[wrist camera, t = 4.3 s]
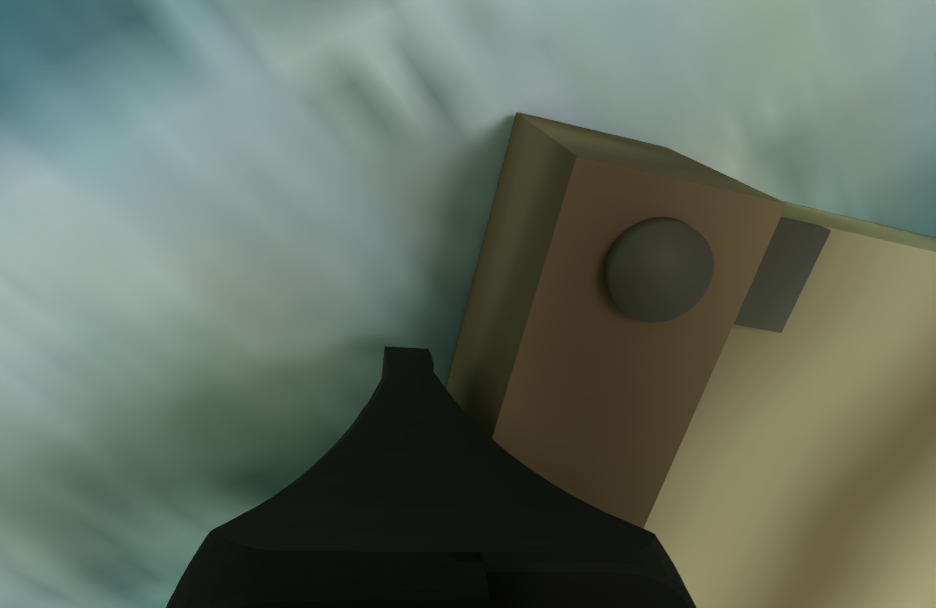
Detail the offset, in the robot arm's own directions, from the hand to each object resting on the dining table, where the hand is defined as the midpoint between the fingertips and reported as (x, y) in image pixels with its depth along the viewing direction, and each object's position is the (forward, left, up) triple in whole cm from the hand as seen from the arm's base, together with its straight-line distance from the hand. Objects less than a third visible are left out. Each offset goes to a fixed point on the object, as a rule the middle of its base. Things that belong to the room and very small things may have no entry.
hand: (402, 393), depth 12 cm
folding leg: (-3, 0, -1) cm, 3 cm away
